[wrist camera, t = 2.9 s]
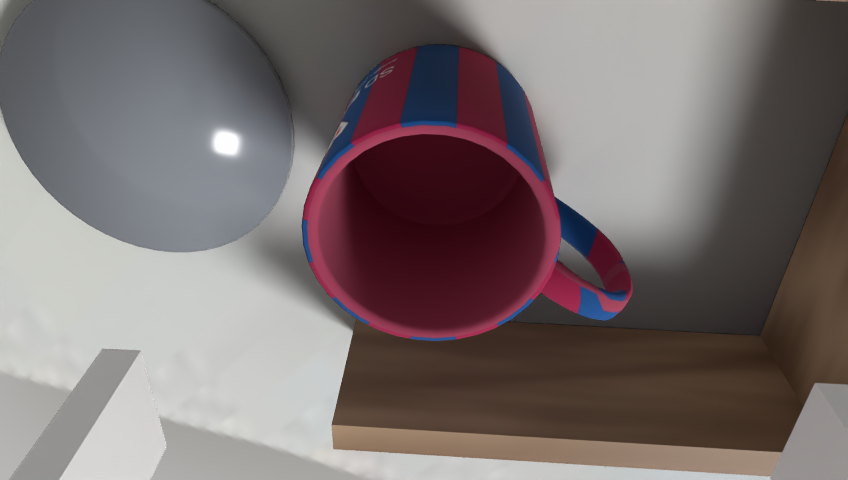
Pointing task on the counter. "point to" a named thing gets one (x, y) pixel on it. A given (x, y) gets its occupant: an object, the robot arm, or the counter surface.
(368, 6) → the counter surface
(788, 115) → the counter surface
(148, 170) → the slate coaster
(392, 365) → the walnut bay
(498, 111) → the mug
